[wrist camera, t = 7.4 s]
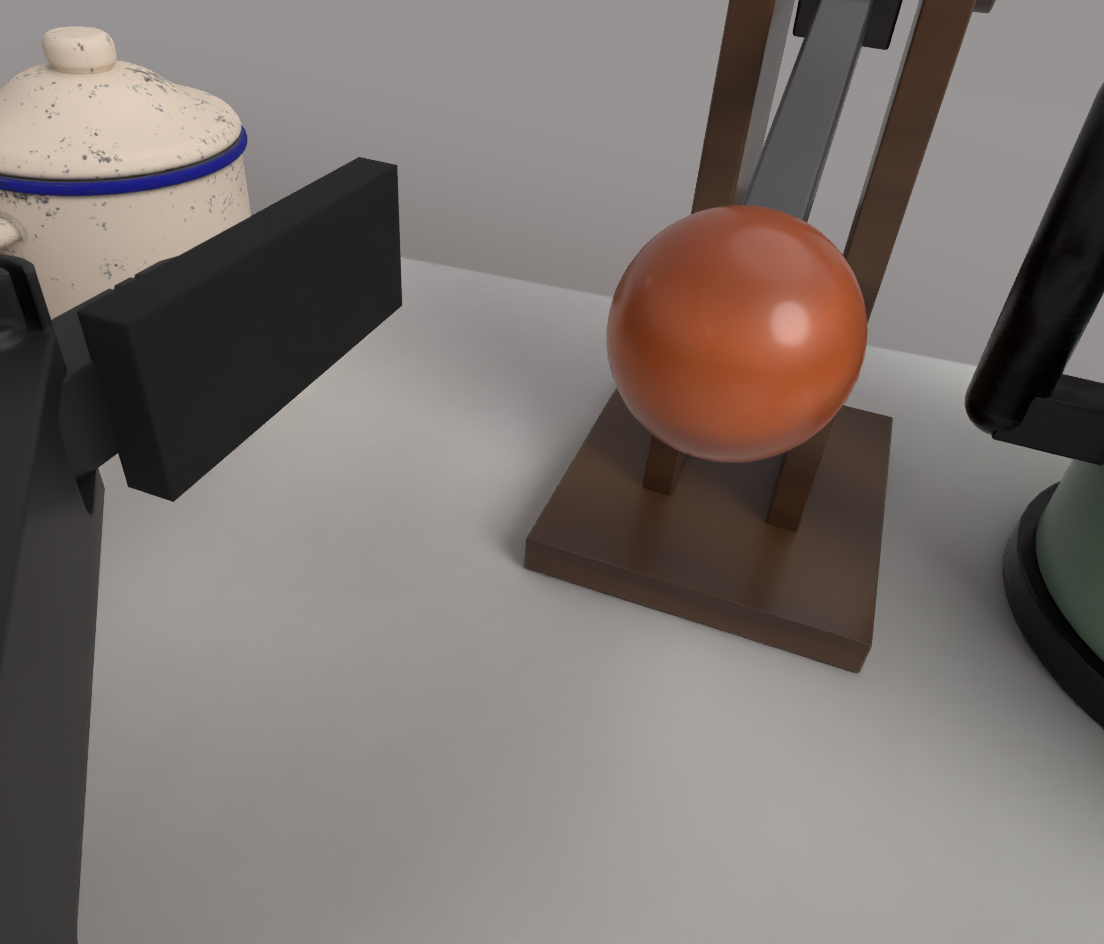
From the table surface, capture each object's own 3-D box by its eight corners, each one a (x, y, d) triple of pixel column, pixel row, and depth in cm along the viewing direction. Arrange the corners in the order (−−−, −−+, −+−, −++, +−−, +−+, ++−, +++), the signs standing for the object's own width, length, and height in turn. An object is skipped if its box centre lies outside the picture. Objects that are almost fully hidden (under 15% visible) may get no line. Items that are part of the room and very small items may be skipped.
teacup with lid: (146, 288, 38) (76, -10, 31) (322, 339, 36) (291, 30, 29) (-112, 427, 29) (-296, 53, 22) (101, 507, 27) (-26, 118, 20)
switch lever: (808, 538, 14) (874, 381, 11) (574, 472, 15) (567, 307, 11) (933, 26, 22) (994, -160, 18) (774, 3, 22) (804, -178, 19)
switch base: (859, 674, 24) (1209, -90, 13) (522, 568, 26) (577, -158, 15) (883, 442, 33) (1101, -122, 22) (632, 378, 35) (715, -161, 24)
